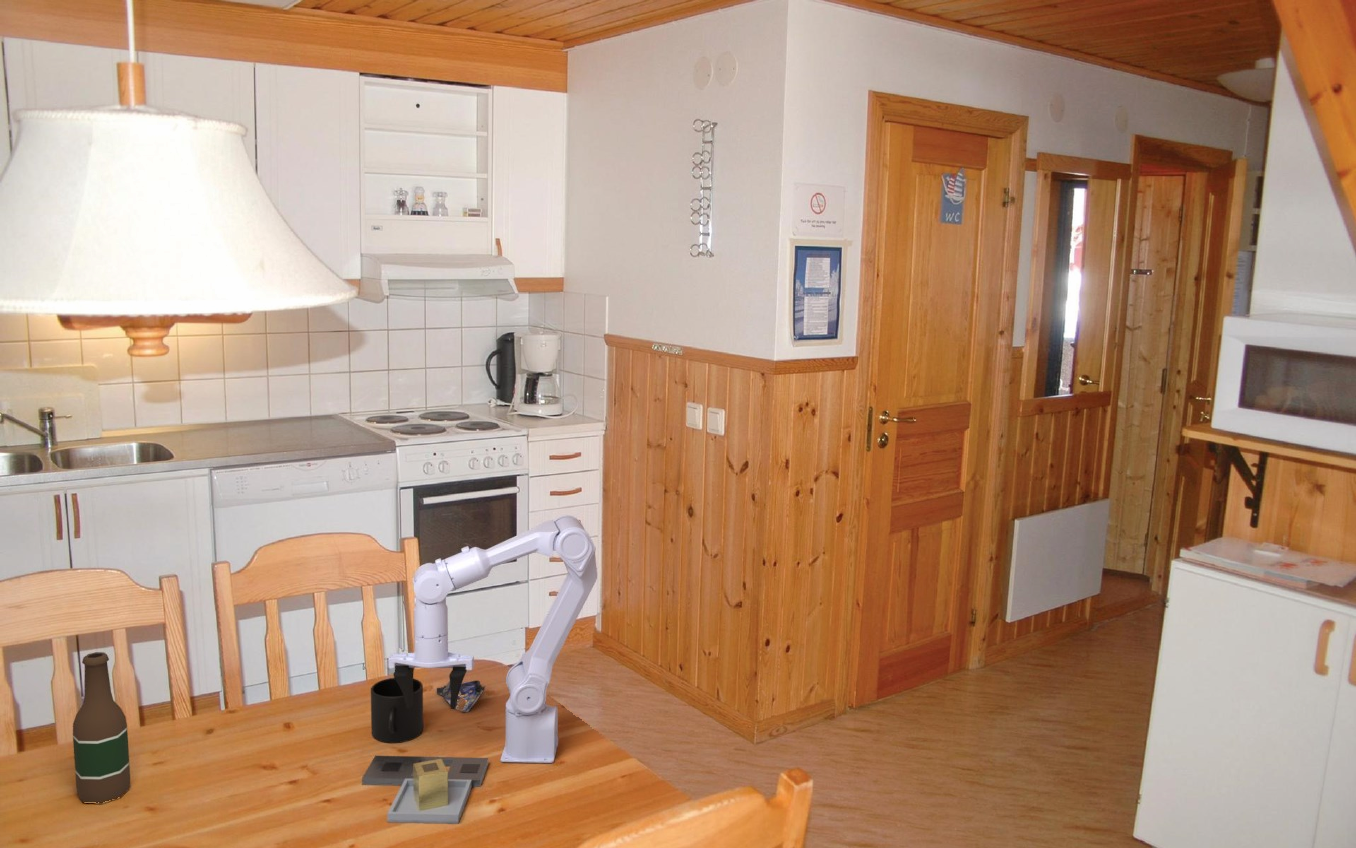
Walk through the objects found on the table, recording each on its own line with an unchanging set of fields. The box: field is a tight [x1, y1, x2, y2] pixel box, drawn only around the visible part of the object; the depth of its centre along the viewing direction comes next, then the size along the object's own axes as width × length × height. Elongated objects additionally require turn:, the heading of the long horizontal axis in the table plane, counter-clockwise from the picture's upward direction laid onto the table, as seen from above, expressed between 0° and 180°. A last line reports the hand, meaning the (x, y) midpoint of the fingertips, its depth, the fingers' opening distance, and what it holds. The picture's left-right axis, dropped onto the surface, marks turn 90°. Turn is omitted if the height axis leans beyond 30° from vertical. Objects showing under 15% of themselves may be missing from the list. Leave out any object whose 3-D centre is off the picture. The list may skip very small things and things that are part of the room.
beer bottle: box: [72, 651, 131, 803], centre depth 167 cm, size 8×8×24 cm
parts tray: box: [386, 778, 473, 825], centre depth 168 cm, size 11×11×2 cm
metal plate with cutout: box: [361, 755, 489, 788], centre depth 178 cm, size 20×8×1 cm, turn 91°
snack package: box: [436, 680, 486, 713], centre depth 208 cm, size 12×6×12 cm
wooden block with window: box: [413, 759, 448, 811], centre depth 168 cm, size 5×5×6 cm
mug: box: [370, 677, 424, 744], centre depth 191 cm, size 9×12×9 cm
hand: (431, 706), depth 181 cm, fingers open, 7 cm apart
